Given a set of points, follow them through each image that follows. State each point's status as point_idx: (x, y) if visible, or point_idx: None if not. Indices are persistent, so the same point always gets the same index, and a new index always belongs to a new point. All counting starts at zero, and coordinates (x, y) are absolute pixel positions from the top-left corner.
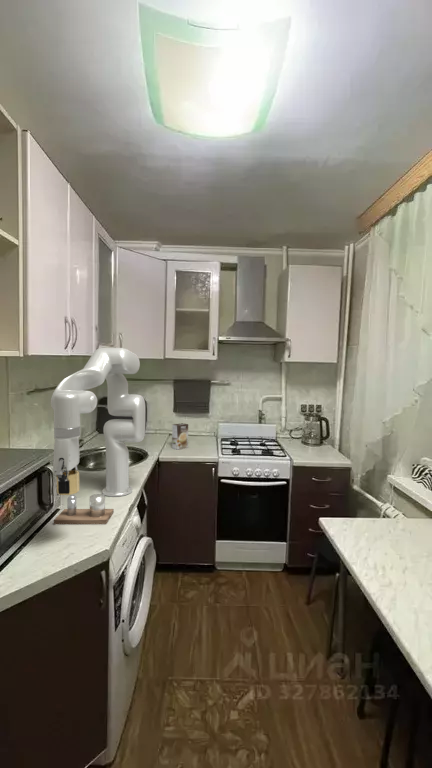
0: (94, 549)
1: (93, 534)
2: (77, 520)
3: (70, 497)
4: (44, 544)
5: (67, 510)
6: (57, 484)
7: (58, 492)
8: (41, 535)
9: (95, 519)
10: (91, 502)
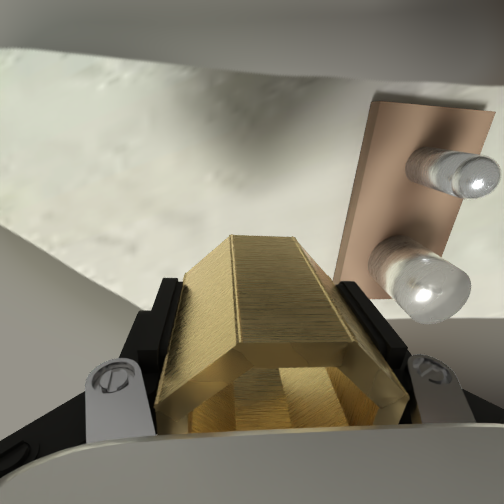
0: None
1: None
2: (356, 204)
3: (469, 178)
4: (192, 129)
5: (431, 151)
6: (221, 278)
7: (164, 278)
8: (271, 85)
9: (347, 265)
10: (407, 272)
